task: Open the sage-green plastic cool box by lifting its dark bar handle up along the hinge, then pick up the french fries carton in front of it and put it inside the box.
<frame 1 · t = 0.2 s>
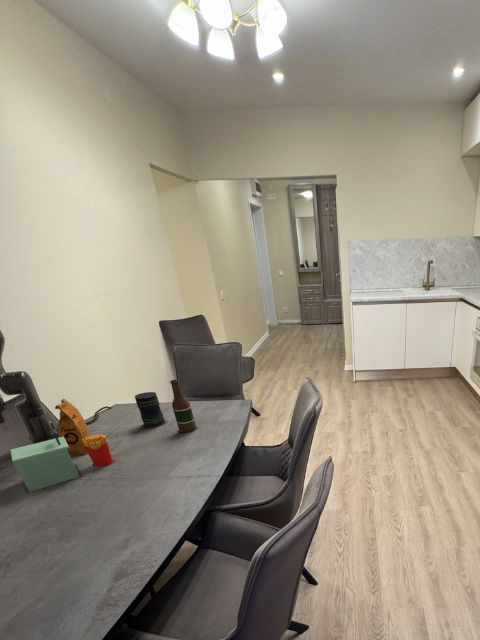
dark barrel: (154, 424, 197), on the table
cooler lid: (37, 442, 143), point 15 cm above the table, hinge at 0.0°
french fries: (104, 463, 159), on the table
cool box: (53, 478, 150), on the table
coffee package: (82, 450, 172), on the table
beer bottle: (188, 429, 188), on the table
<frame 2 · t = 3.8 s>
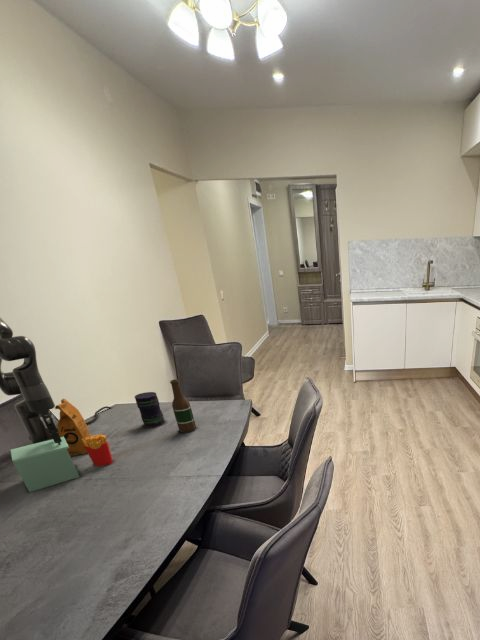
hand: (57, 439, 146), 14 cm above the table, tool pointing down, fingers closed on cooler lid, 5 cm apart
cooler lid: (37, 442, 143), point 15 cm above the table, hinge at 0.0°, touching gripper
everything else where it was.
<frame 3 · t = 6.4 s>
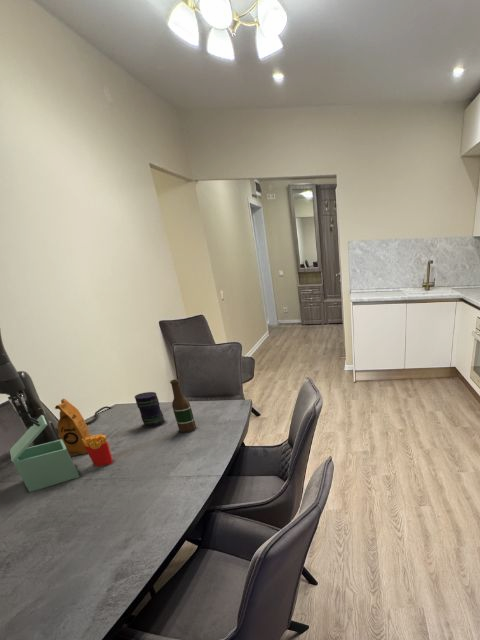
hand: (29, 423, 139), 22 cm above the table, tool pointing down, fingers closed on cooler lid, 5 cm apart
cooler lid: (20, 433, 139), point 19 cm above the table, hinge at 36.8°, touching gripper
everything else where it was.
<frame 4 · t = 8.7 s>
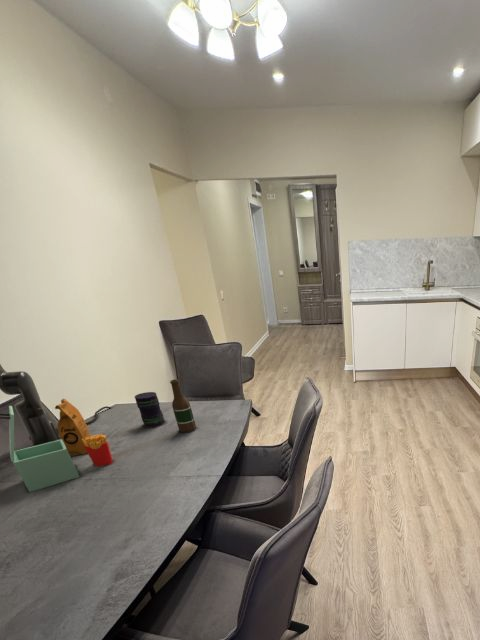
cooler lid: (2, 433, 135), point 21 cm above the table, hinge at 69.1°, touching gripper
everything else where it was.
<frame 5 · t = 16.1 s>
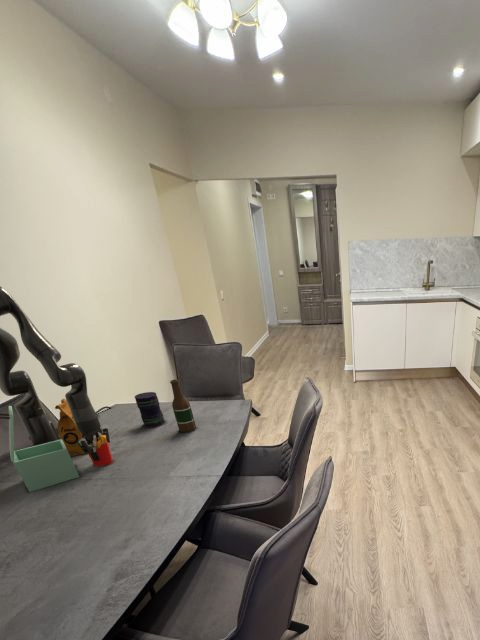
hand: (101, 457, 158), 3 cm above the table, tool pointing down, fingers closed on french fries, 4 cm apart
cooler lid: (2, 433, 135), point 21 cm above the table, hinge at 69.5°
french fries: (104, 463, 159), on the table, touching gripper
everything else where it was.
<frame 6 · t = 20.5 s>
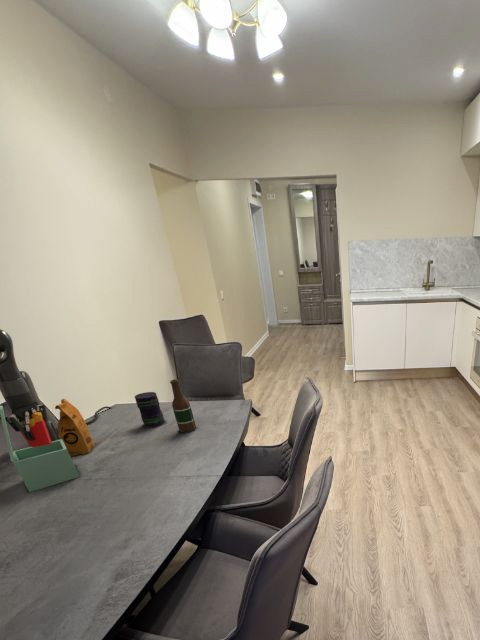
hand: (38, 437, 142), 17 cm above the table, tool pointing down, fingers closed on french fries, 4 cm apart
french fries: (42, 444, 144), point 14 cm above the table, touching gripper
when the fingers open (8 cm above the table, at t = 23.1 s): french fries drops 4 cm, resting on cool box.
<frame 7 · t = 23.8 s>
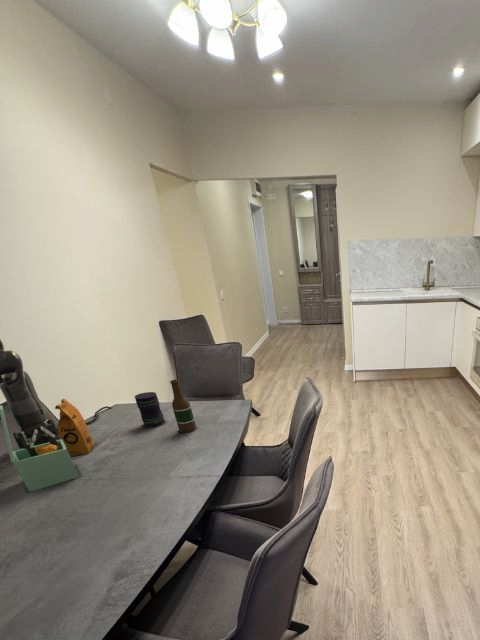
hand: (45, 451, 145), 11 cm above the table, tool pointing down, fingers open, 8 cm apart
french fries: (59, 474, 150), point 1 cm above the table, touching cool box
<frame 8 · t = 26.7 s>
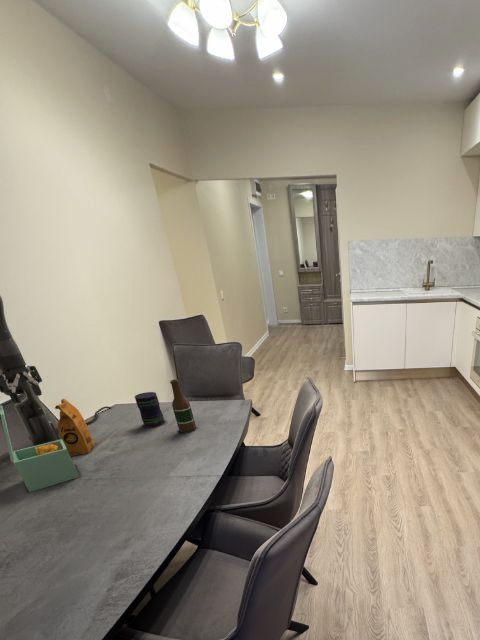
hand: (28, 399, 142), 29 cm above the table, tool pointing down, fingers open, 8 cm apart
at the end: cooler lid at +78° (first picture: +0°); french fries 2.2 cm from the cool box (horizontally); french fries point 0.7 cm above the table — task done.
